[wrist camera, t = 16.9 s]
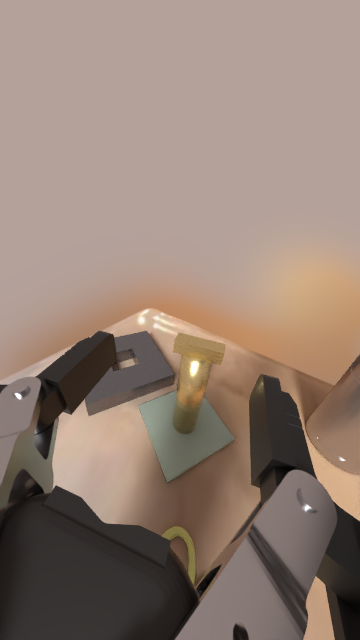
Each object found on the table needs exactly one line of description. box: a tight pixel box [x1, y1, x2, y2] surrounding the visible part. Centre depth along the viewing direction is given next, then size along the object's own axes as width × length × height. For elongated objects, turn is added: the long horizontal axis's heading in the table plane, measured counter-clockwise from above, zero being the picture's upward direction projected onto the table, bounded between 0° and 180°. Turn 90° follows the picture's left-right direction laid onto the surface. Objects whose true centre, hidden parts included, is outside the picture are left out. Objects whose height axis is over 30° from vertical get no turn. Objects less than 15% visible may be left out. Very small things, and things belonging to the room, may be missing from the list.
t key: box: [173, 333, 225, 434], centre depth 27 cm, size 6×4×17 cm, turn 74°
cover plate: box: [85, 331, 174, 416], centre depth 40 cm, size 16×16×3 cm
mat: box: [139, 390, 235, 483], centre depth 32 cm, size 12×12×1 cm
